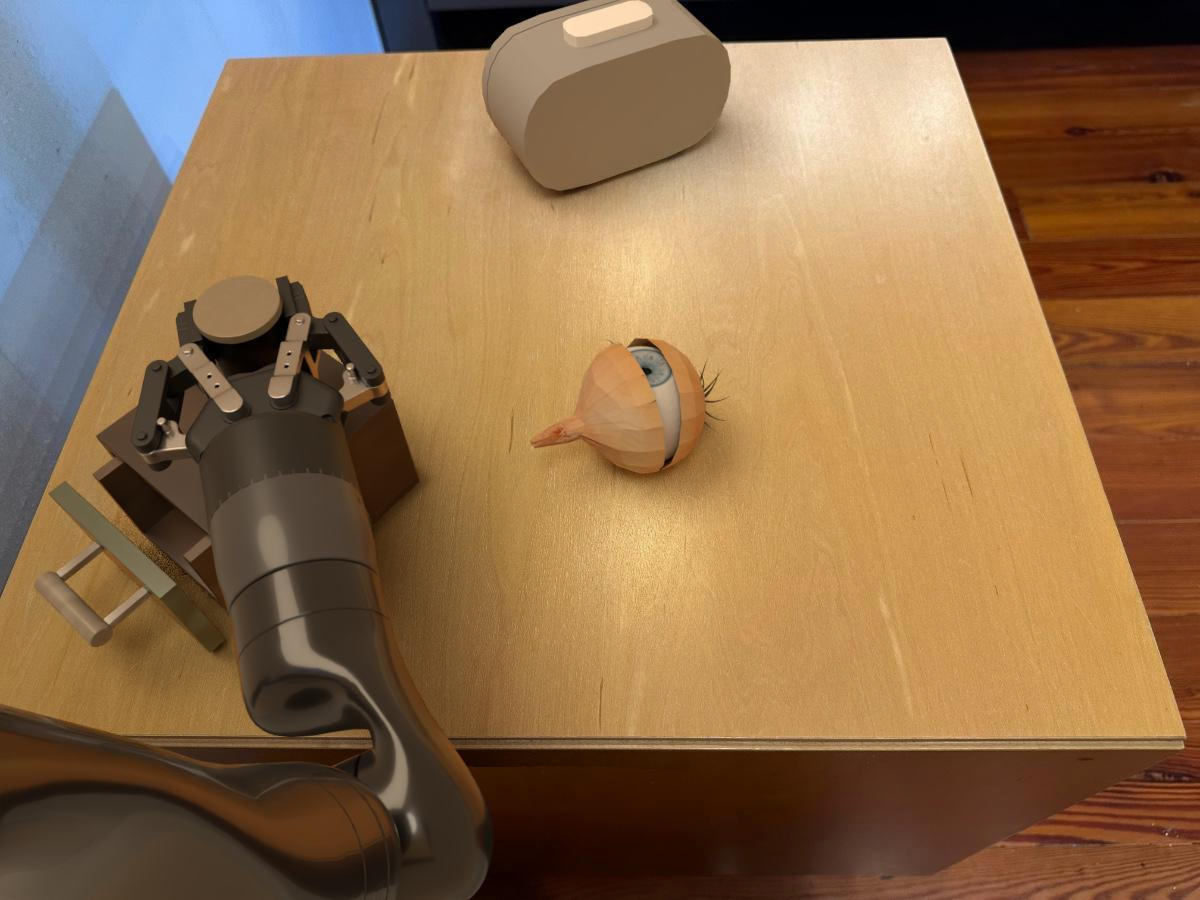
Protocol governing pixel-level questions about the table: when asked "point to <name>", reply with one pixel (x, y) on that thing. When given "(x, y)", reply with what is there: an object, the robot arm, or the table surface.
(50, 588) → the drawer
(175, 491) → the cabinet
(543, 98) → the alarm clock
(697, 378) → the sculpture
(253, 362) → the tin
